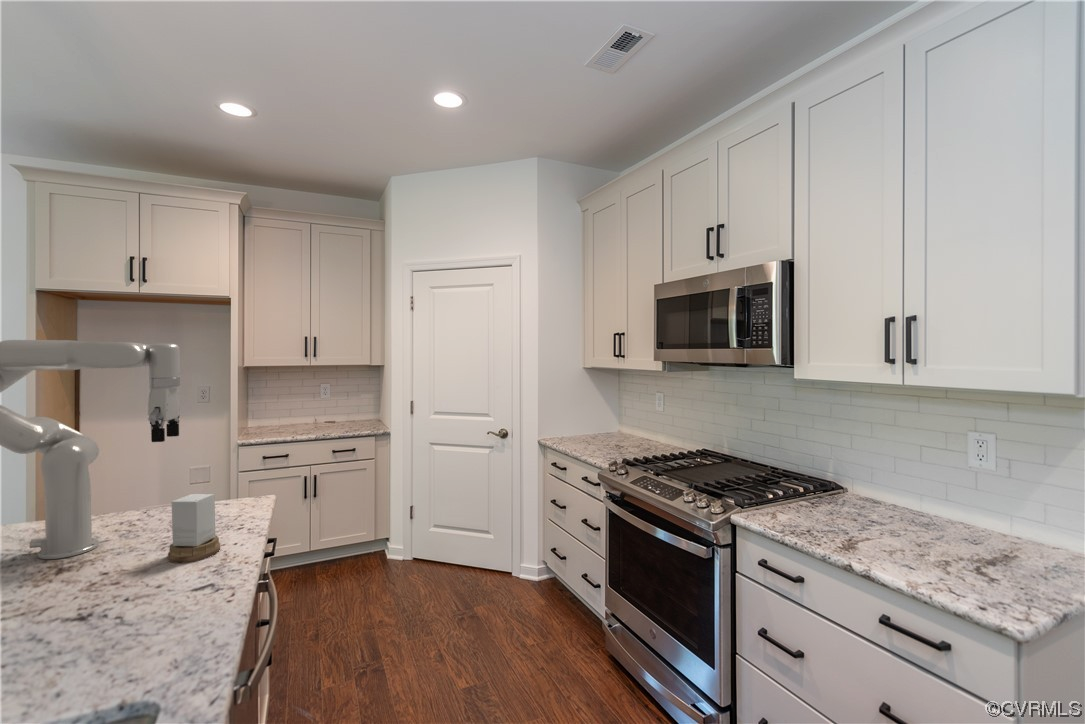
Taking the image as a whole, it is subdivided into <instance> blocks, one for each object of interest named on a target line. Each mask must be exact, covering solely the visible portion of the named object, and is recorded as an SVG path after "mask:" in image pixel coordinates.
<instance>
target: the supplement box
mask: <svg viewBox="0 0 1085 724" xmlns="http://www.w3.org/2000/svg"><path fill="white" fill-rule="evenodd" d="M215 504H216V502H215V494H214V493H209V494H207V493H203V494H202V493H190V494H188V495H186V496H182V497H180V498H177V499H174V500H172V501H171V524H172V525H171V526H172V527H171V528H172V529H171V530H172V532H171V533H172V543H173V546H199V545H201V544H203V543H205V542H207V541H209V540H211V539H213V538H215V536H216V535H217V534H216V505H215Z"/></svg>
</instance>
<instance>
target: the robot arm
mask: <svg viewBox="0 0 1085 724" xmlns="http://www.w3.org/2000/svg"><path fill="white" fill-rule="evenodd" d="M180 350H181V349H180V346H179V345H178V344H176V343H163V342H162V343H152V344H151V343H150V344H149V343H140V342H131V341H130V342H126V341H121V342H119V341H118V342H117V341H115V342H113V341H109V342H107V341H102V342H101V341H96V342H95V341H80V340H69V339H64V340H63V339H62V340H60V339H43V340H42V339H7V340H1V341H0V394H1V393H2V392H4V391H5V390H7V389H8V388H10V387H12V386H13V385H14V384H16V383H17V382H19V381H20V380H21V379H23V378H25V377H26V376H27V375H28V374H30V373H31V372H33V371H77V370H85V369H93V370H94V369H134V368H141V367H142V368H143V367H148V376H149V377H148V378H149V379H148V381H149V382H148V385H149V386H148V387H149V394H148V403H147V404H148V405H147V421H149V424H150V432H151V433H150V435H151V438H150V439H151V443H162V442H163V443H164V442H165V441H166V437H167V438H168V437H171V438H172V437H179V436H180V409H181V408H180V394H179V393H180V392H179V389H180V388H181V369H180V368H181V366H180V365H181V362H180V361H181V359H180V357H181V356H180V353H181V352H180ZM166 422H167V423H166ZM165 423H166V425H165ZM164 425H165V426H166V429H165V427H164ZM165 436H166V437H165ZM0 446H1V447H2V448H5V449H7V450H9V451H10V452H13V453H15V454H21V455H23V454H24V455H28V454H32V453H36V452H38V453H41V454H43V455H42V457H41V461H40V471H41V474H42V475H41V476H42V479H43V491H44V493H43V494H44V517H45V519H44V520H45V523H44V526H45V527H44V528H45V529H44V532H45V537H43V538H32V539H31V540H30V542H29V546H28V547H29V548H30V549H34V548H40V550H39V551H38V553H37V557H38V558H39V559H42V560H56V559H63V558H69V557H74V556H77V555H81V554H85V553H88V552H90V551H92V550H94V549H96V548H97V547H99V545H100V540H99V539H97V538H92V537H93V533H92V531H93V529H92V528H93V527H92V522H93V521H92V486H91V477H90V472H89V465H91V464H92V463H94V462H95V460H96V459H97V458H98V456H99V453H100V447H99V445H98V443H97V442H96V441H95V440H94V439H93V438H91V437H90V436H88V435H86V434H84V433H82V432H79V431H78V430H76V429H74V428H73V427H70V426H68V425H67V424H64V423H62V422H61V421H58V420H56V419H54V418H52V417H51V418H50V417H47V416H33V417H27V416H24V415H22V414H20V413H17V412H15V411H13V410H11V409H10V408H8V407H6V406H4V405H2V404H0Z"/></svg>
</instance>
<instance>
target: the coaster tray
mask: <svg viewBox="0 0 1085 724" xmlns="http://www.w3.org/2000/svg"><path fill="white" fill-rule="evenodd" d="M215 535H216V536H215V538H213V539H211V540H209V541H207V542H205V543H203V544H201V545H199V546H173V542H172V543H171V544H169V551H168V553H167V560H169V561H168V562H170V563H172V562H177V563H176V564H183V563H182V562H188V563H192V562H191V561H194V562H197V560H199V561H202V560H201V559H203V560H206V559H209V558H211V557H213V556H215V555H216V553H217V552H218V553H220V551H221V543H220V541H219V540H220V539H219V536H218V535H217V534H215ZM219 550H220V551H219ZM218 553H217V554H218ZM212 555H213V556H212ZM210 556H211V557H210ZM208 557H209V558H208ZM205 558H206V559H205Z"/></svg>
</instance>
